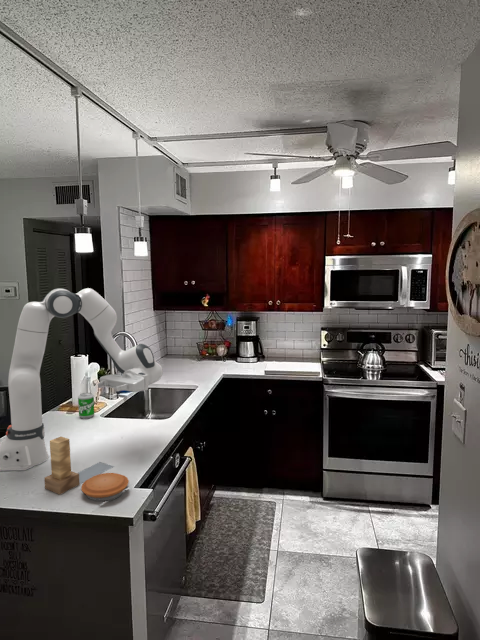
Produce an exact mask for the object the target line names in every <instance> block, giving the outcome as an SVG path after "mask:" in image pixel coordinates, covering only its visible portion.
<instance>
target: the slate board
mask: <svg viewBox="0 0 480 640" xmlns="http://www.w3.org/2000/svg"><path fill="white" fill-rule="evenodd" d="M115 467H116V466H114V465H111V464H108V463H105V462H101V461H99V462H97V463H95V464H93V465H91V466H89V467H86V468H84V469H82V470H80V471H78V472H77V473H78V474H79V484H80V485H82V484H83V483H84V482H85V481H86V480H88V479H90V478H92V477H93V476H96V475H99V474H103V473H106V472H107V471H108V470H111V469H113V468H115ZM62 494H64V493H62ZM62 494H61V495H62Z"/></svg>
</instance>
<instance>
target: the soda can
mask: <svg viewBox="0 0 480 640" xmlns="http://www.w3.org/2000/svg"><path fill="white" fill-rule="evenodd" d="M94 397H95V395H94V394H93V393H92V392H82V393H80V394H79V395H78V396H77V399H78V401H77V403H78V404H77V405H78V417H79V418H80V419H83V420H86V419H91V418H93V417H94V415H95V399H94Z"/></svg>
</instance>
